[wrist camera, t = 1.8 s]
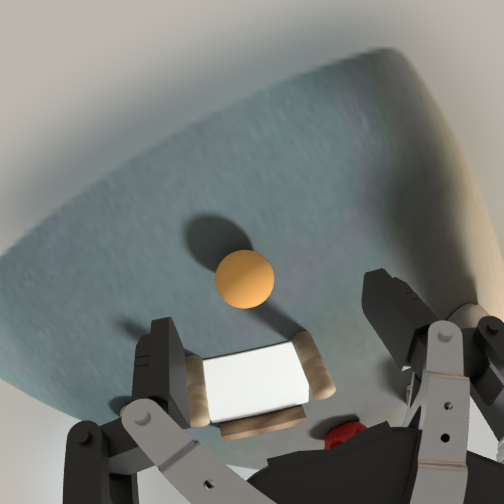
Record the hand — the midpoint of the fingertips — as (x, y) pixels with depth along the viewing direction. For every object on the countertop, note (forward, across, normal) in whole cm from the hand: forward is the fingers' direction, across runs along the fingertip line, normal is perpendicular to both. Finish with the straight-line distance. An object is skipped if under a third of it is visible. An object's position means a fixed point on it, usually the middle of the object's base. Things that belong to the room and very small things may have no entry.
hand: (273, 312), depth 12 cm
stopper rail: (+18, +1, +40) cm, 44 cm away
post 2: (+18, -6, +22) cm, 29 cm away
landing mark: (+18, +1, +30) cm, 35 cm away
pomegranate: (+18, -15, +55) cm, 60 cm away
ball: (+15, 0, +9) cm, 18 cm away
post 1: (+18, +8, +22) cm, 30 cm away
